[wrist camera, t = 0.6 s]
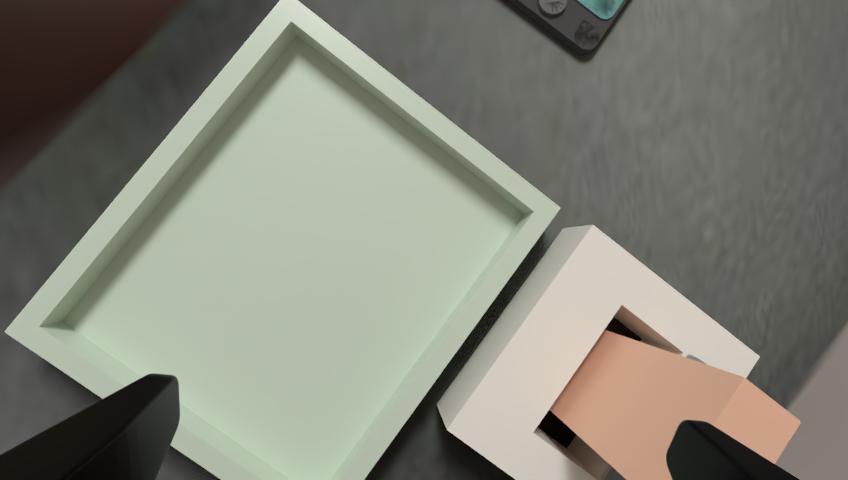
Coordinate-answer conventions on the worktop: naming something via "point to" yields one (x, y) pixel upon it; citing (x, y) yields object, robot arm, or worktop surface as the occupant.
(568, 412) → the salmon pink rectangular block
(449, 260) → the tray
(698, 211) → the worktop surface
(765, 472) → the robot arm
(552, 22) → the smartphone
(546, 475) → the white slotted base
